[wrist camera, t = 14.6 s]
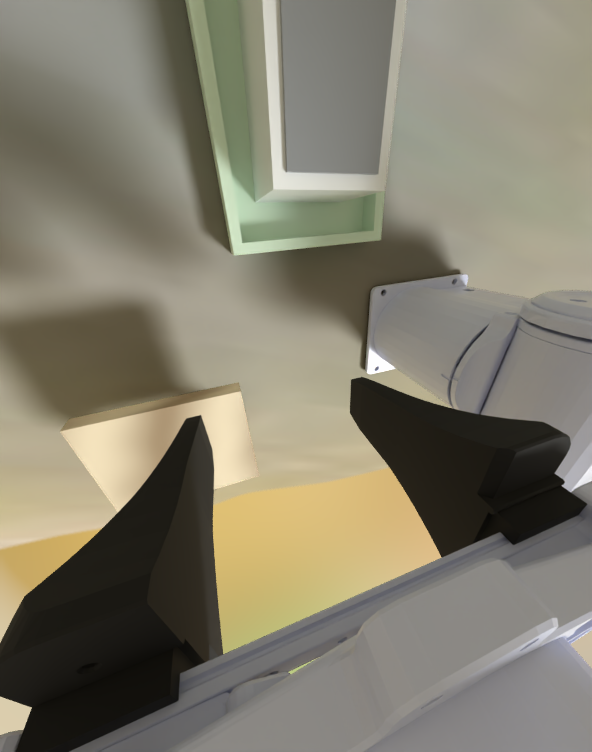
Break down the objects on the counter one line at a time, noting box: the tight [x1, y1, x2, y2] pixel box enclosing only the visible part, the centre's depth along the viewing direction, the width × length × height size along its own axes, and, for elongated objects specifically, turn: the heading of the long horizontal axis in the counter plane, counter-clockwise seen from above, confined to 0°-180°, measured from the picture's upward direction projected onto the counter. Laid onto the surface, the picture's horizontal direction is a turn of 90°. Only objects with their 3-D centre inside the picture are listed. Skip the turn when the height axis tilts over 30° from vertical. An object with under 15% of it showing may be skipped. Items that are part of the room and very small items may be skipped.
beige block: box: [60, 383, 259, 512], centre depth 18 cm, size 9×8×7 cm
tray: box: [185, 0, 385, 256], centre depth 14 cm, size 10×12×2 cm
